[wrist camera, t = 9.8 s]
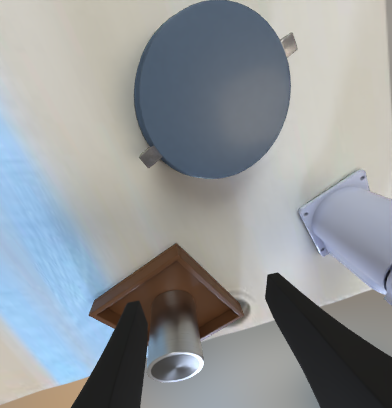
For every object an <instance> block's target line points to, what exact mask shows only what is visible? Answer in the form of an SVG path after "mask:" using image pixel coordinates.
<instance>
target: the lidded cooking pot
mask: <svg viewBox="0 0 392 408" xmlns="http://www.w3.org/2000/svg"><path fill="white" fill-rule="evenodd" d="M296 50H297V45H296V42H295V39H294V36H293V33H292V32H291V33H290V34H288V35H286V36H285V37H283V38H282V39H279V38H278V36H277V34H276V33H275V31H274V30H273V29H272V27H271V26H270V25H269V24H268V22H267V21H266V20H265V19H264V18H262V17H261V16H260V15H259V14H258V13H256V12H255V11H253V10H252V9H250V8H249V7H247V6H244V5H242V4H239V3H237V2H232V1H228V0H209V1H202V2H199V3H196V4H193V5H191V6H189V7H187V8H185V9H183V10H182V11H180V12H178V13H177V14H175V15H174V16H172V17H171V18H170V19H168V20H167V21H166V22H165V23H163V24H162V25H161V26H160V28H159V29H158V30H157V31H156V32H155V33H154V35H153V36H152V37H151V39H150V40H149V42H148V43H147V45H146V47H145V49H144V52H143V54H142V56H141V59H140V62H139V65H138V68H137V73H136V78H135V86H134V106H135V112H136V117H137V121H138V124H139V127H140V130H141V132H142V134H143V136H144V138H145V140H146V141H147V143H148V145H149V146H150V147H148V148H147V149H146V150H145V151H144V152H142V153H141V155H140V157H139V158H140V159H141V161H142V162H143V163H144V164H145V165H146V166H147V167H148V168H150V167H151V166H152V165H154V164H155V163H156V162H157V161H159V160H160V159H161V160H162V161H163V162H165V163H166V164H167V165H168V166H170V167H171V168H173V169H174V170H176V171H178V172H180V173H183V174H185V175H188V176H192V177H197V178H205V179H218V178H225V177H229V176H232V175H235V174H238V173H240V172H242V171H244V170H246V169H247V168H249V167H251V166H252V165H253V164H255V163H256V162H257V161H258V160H260V159H261V158H262V157H263V156H264V155H265V153H266V152H267V151H268V150H269V149H270V147H271V146H272V145H273V143H274V142H275V140H276V138H277V137H278V135H279V133H280V131H281V129H282V126H283V124H284V121H285V119H286V115H287V111H288V107H289V101H290V90H291V82H290V71H289V65H288V60H287V57H289V56H290V55H291V54H292V53H294V52H295V51H296Z"/></svg>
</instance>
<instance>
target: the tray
mask: <svg viewBox="0 0 392 408" xmlns="http://www.w3.org/2000/svg"><path fill="white" fill-rule="evenodd" d="M172 290H181V291H185V292H187V293H189V294H190V295H192V297H193V298H194V301H195V307H196V314H197V320H198V327H199V333H200V340H201V341H202V340H204V339H205V338H207V337H209V336H210V335H212V334H214V333H216V332H217V331H219V330H221V329H222V328H224V327H226V326H228V325H229V324H231V323H233V322H235V321H236V320H238V319H240V318H241V317H243V316H244V313H243V311H242V308H241V306H240V303H239V302H238V301H237V300H236V299H235V298H234V297H233V296H231V295H230V294H229V293H228V292H227V291H226V290H225V289H224V288H223V287H222V286H221V285H220V284H219V283H218V282H217V281H216V280H215V279H214V278H213V277H212V276H211V275H209V274H208V273H207V272H206V271H205V270H204V269H203V268H202V267H201V266H200V265H199V264H198V263H197V262H196V261H195V260H194V259H193V258H192V257H191V256H190V255H189V254H187V253H186V252H185V251H184V250H183V249H182V248H181V247H180V246H179V245H178V244H177V243H176V244H174V245H173V246H171V247H170V248H168V249H167V250H166V251H164V252H163V253H161V254H160V255H158V256H157V257H156V258H154V259H153V260H151V261H150V262H148V263H147V264H146V265H144V266H143V267H141V268H140V269H138V270H137V271H136V272H134V273H133V274H131V275H130V276H128V277H127V278H126V279H124V280H123V281H121V282H120V283H118V284H117V285H115V286H114V287H113V288H111V289H110V290H108V291H107V292H105V293H104V294H103V295H101V296H100V297H98V298H97V299H95V300H94V302H93V305H92V308H91V310H90V313H89V316H91V317H93V318H94V319H96V320H98V321H100V322H102V323H104V324H106V325H108V326H110V327H112V328H114V329H115V328H116V326H117V324H118V321H119V319H120V317H121V315H122V313H123V311H124V308H125V306H126V304H127V303H129V302H134V301H140V304H141V306H142V309H143V312H144V314H145V317H146V320H147V322H148V340H147V346H149V333H150V320H151V307H152V303H153V301H154V299H155V298H156V297H157V296H159V295H160V294H162V293H164V292H167V291H172Z"/></svg>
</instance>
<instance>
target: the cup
mask: <svg viewBox="0 0 392 408" xmlns="http://www.w3.org/2000/svg"><path fill="white" fill-rule="evenodd" d="M203 364H204V359H203V353H202V346H201V340H200V333H199V327H198V320H197V314H196V307H195V301H194V298H193V297H192V295H190V294H189V293H187V292H185V291H181V290H172V291H167V292H164V293H162V294H160V295H159V296H157V297H156V298H155V299H154V301H153V303H152V307H151V320H150V333H149V347H148V360H147V374H148V376H149V377H150V378H151V379H153V380H155V381H159V382H177V381H181V380H185V379H187V378H189V377H192V376H193V375H195V374H196V373H198V372H199V371H200V370H201V369H202V367H203Z"/></svg>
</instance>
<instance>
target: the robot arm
mask: <svg viewBox="0 0 392 408" xmlns="http://www.w3.org/2000/svg"><path fill="white" fill-rule="evenodd" d="M299 214H300V216H301V218H302V220H303V222H304V224H305V226H306V228H307V230H308V232H309V234H310V236H311V238H312V240H313V242H314V244H315V246H316V248H317V250H318V251H319V253H320V255H321V256H326V255H328V254H329V253H330V254H331V255H332V256H334V257H335V258H336V259H337V260H338V261H339V262H341V263H342V264H343V265H344V266H345V267H347V268H348V269H349V270H350V271H351V272H352V273H354V274H355V275H356V276H357V277H358V278H360V279H361V280H362V281H363V282H364V283H366V284H367V285H368V286H369V287H371V288H372V289H374V290H375V291H377V292H380V293H382V294H385V297H384V299H385V300H386V301H387V302H388V303H389V304H391V305H392V199H389V198H387V197H384V196H381V195H379V194H376V193H373V192H371V191H370V189H369V185H368V181H367V176H366V172H365V171H364V170H361V169H360V170H357V171H356V172H354V173H353V174H351V175H350V176H348V177H347V178H345V179H344V180H342V181H341V182H339V183H337V184H336V185H334V186H333V187H331V188H330V189H328V190H327V191H325V192H324V193H322V194H321V195H319V196H318V197H316V198H314V199H313V200H311V201H310V202H308V203H307V204H305V205H304V206H302V207H301V208H300V209H299ZM265 299H266V302H267V304H268V306H269V309H270V311H271V313H272V315H273V318H274V319H275V321H276V323H277V325H278V327H279V328H280V330H281V332H282V334H283V335H284V337H285V339H286V341H287V343H288V344H289V346H290V348H291V350H292V352H293V353H294V355H295V357H296V359H297V360H298V362H299V364H300V366H301V368H302V370H303V372H304V373H305V375H306V378H307V380H308V382H309V384H310V386H311V388H312V390H313V392H314V395H315V397H316V399H317V401H318V403H319V405H320V407H321V408H392V357H391V356H389V355H387V354H385V353H384V352H382V351H381V350H379V349H378V348H376V347H374V346H373V345H372V344H370V343H369V342H367V341H366V340H364V339H362V338H361V337H360V336H358V335H357V334H355V333H354V332H352V331H351V330H349V329H348V328H346V327H345V326H344V325H342V324H341V323H340V322H338V321H337V320H335V319H334V318H333V317H331V316H330V315H329V314H328V313H326V312H325V311H323V310H322V309H321V308H320V307H319V306H317V305H316V304H315V303H314V302H312V301H311V300H310V299H309V298H307V297H306V296H305V295H304V294H302V293H301V292H300V291H299V290H298V289H297V288H295V287H294V286H293V285H292V284H291V283H290V282H288V281H287V280H286V279H285V278H284V277H283V276H281V275H280V274H279V273H274V274H269V275H268V276H267V286H266V295H265ZM147 340H148V322H147V320H146V317H145V314H144V312H143V309H142V306H141V304H140V301H134V302H129V303H127V304H126V306H125V308H124V311H123V313H122V315H121V317H120V319H119V321H118V324H117V326H116V328H115V330H114V332H113V334H112V336H111V338H110V340H109V342H108V344H107V346H106V348H105V349H104V351H103V353H102V355H101V357H100V359H99V361H98V362H97V364H96V366H95V368H94V370H93V371H92V373H91V375H90V377H89V378H88V380H87V382H86V384H85V385H84V387H83V389H82V390H81V392H80V394H79V395H78V397H77V399H76V400H75V402H74V403H73V405H72V407H71V408H140V402H141V395H142V387H143V378H144V370H145V361H146V353H147Z"/></svg>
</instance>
